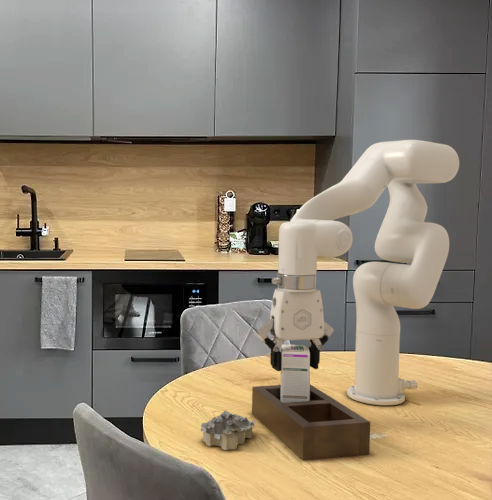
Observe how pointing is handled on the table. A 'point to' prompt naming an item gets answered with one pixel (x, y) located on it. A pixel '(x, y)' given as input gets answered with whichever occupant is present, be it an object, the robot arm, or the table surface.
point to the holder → (312, 424)
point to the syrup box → (295, 373)
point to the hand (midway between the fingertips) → (294, 367)
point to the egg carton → (227, 430)
